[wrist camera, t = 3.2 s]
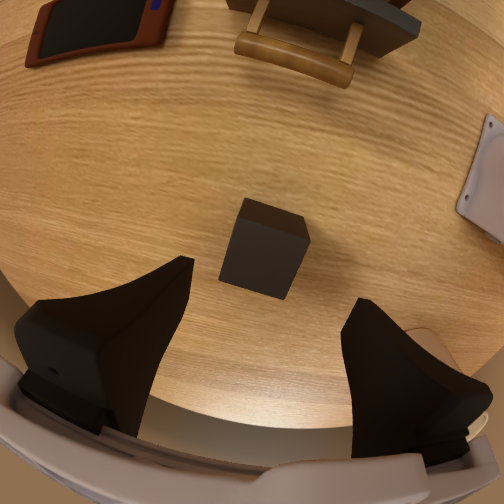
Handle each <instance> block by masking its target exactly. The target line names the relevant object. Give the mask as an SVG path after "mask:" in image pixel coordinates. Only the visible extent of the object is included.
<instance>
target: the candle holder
mask: <svg viewBox="0 0 504 504" xmlns="http://www.w3.org/2000/svg"><path fill="white" fill-rule="evenodd" d="M405 333H407V334H408V335H409V336H410V337H411V338H412V339H413V340H414V341H415V342H417V343H418V344H419V345H420V346H421V347H423V348H424V349H425V350H426V351H428V352H429V353H430V354H432V355H433V356H434V357H436V358H437V359H439V360H440V361H442V362H443V363H445V364H446V365H448V366H450V367H451V368H453V369H455V370H457V371H459V372H461V373H462V374H463V372H462V371H461V369H460V367H459V366H458V364H457V363H456V361H455V360H454V358H453V357H452V355H451V354H450V352H449V351H448V349H447V348H446V346H445V345H444V343H443V342H442V341H441V339H440V338H439V337H438V335H437V334H436V333H435V332H433V331H432V330H429V329H425V328H418V329H412V330H409V331H406V332H405ZM487 421H488V413H487V412H486V411H485V412H484V413H483V414H482V415H481V416H480V417H479V418H478V419H476V420H475V421H474V422H473V423H472V424H471V425H470V426H469V427H468V430H469V432H470V433H469V435H468V436H466V440H467V442H468V441H470V440H471V439H472V438H473V437H475V436H476V435H477V434H478V433H479V432H480V431H481V430H482V428H483V427H484V426H485V424H486V423H487Z"/></svg>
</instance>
